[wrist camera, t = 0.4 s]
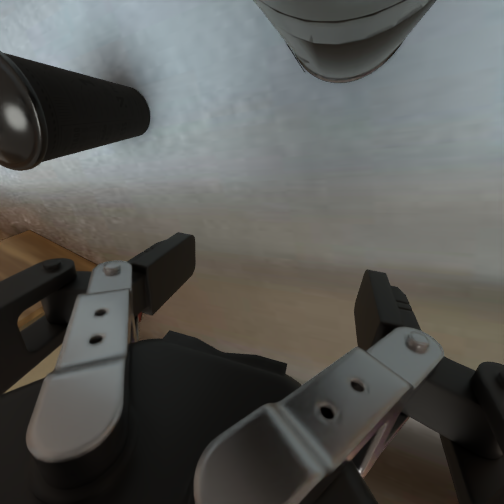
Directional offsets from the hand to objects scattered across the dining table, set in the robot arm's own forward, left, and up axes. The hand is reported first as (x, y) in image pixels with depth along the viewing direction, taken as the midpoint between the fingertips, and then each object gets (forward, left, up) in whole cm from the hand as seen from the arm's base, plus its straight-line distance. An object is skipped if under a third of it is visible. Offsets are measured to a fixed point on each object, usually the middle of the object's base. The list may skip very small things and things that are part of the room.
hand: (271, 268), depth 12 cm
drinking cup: (-4, -21, -18) cm, 28 cm away
